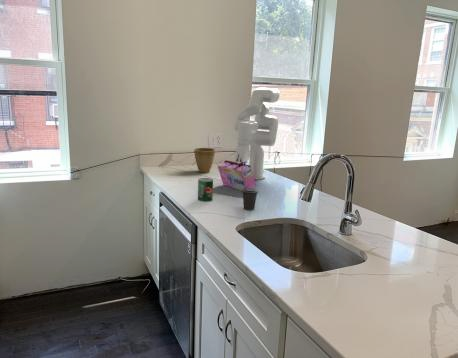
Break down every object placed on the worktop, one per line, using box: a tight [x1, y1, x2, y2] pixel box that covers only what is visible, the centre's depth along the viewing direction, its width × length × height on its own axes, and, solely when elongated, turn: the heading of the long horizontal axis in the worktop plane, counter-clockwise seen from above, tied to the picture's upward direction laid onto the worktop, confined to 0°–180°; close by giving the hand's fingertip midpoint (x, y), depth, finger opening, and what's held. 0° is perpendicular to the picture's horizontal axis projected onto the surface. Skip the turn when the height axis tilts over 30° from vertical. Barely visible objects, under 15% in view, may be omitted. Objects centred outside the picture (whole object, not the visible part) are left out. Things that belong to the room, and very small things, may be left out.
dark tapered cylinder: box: [242, 188, 259, 211], centre depth 189 cm, size 8×8×10 cm
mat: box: [213, 185, 243, 199], centre depth 219 cm, size 14×24×1 cm, turn 60°
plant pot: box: [193, 147, 216, 174], centre depth 268 cm, size 15×15×16 cm
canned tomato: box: [197, 177, 214, 203], centre depth 201 cm, size 8×8×11 cm
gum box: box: [216, 160, 257, 190], centre depth 226 cm, size 24×8×14 cm, turn 39°
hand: (242, 173), depth 229 cm, fingers closed
